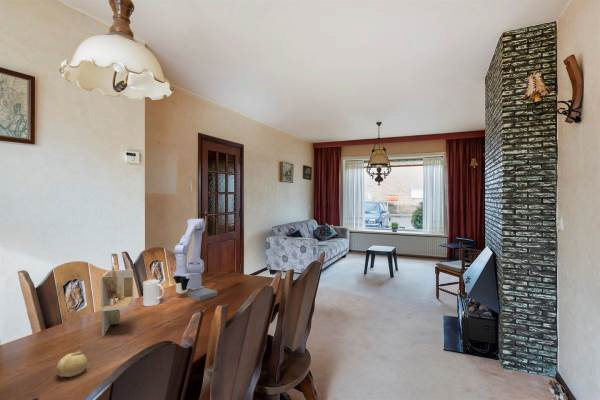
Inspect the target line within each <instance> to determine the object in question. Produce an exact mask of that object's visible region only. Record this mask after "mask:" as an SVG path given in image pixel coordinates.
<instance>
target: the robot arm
mask: <svg viewBox="0 0 600 400" xmlns="http://www.w3.org/2000/svg"><path fill="white" fill-rule="evenodd" d="M186 225H187V229H186V232H185V234H183V235H182V236H181V238H180V240H179V242H178V244H176V245H175V246H174V249H173V253H174V257H175V265H176V266H175V271H173V280H174V283H175V284H176V283H180V282H181V285H182V290H186V288H187V290H191V291H195V290H199V289H203V288H205V286H203V285H202V274H203V273H204V271H205V261H204V260H203V259H201V248H202V240H203V233H204V232H205V231H206V221H205V219H204V217H203V218H188V220H187V223H186ZM193 235H194V236H193ZM192 236H193V243H192V251H191V253H192V254H191V259H189V260H188V259H187V257H188V253H189V249H190V244H191V242H192Z"/></svg>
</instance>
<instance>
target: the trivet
mask: <svg viewBox="0 0 600 400" xmlns="http://www.w3.org/2000/svg"><path fill="white" fill-rule="evenodd" d="M186 293H187V296H188V298H190V297H191V298H190V299H193V300H196V301H203V300H206V299H209V298H213V297H216V296H217V297H218V291H217V290H214V289H211V288H207V287H204V288H200V289H196V290H191V291H187V292H186Z"/></svg>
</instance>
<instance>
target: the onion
mask: <svg viewBox="0 0 600 400" xmlns="http://www.w3.org/2000/svg"><path fill="white" fill-rule="evenodd" d="M80 350H81V349H79V350H77V351H76V352H71V353H67V354H66V355H64V356H63V357H62V358H61V359H60V360H59V361H58V362H57V365H56V368H55V371H56V373H57V375H58V376H59V377H61V378H63V377H64V376H65V377H66V378H73V377H76V376H78V375H80V374H82V373H83V372H84V371H85V369H86V368H87V366H88V357H86V355H85V354H84V353H83V352H82V351H80ZM79 373H80V374H79ZM75 375H76V376H75ZM72 376H73V377H72Z"/></svg>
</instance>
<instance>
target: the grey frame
mask: <svg viewBox="0 0 600 400" xmlns="http://www.w3.org/2000/svg"><path fill="white" fill-rule="evenodd" d="M111 269H112V270H107V271H106V272H105V273H104V274H103V275H102V276H101V277H100V294H101V295H100V297H101V298H100V303H101V304H100V306H101V336H102V337H104V336H105V335H106V333H107V332H106V331H108V330H109V329H110V327H111V326H112V325H121V311H120V310H126V309H129V307H130V305H131V303H132V302H133V300H134V269H133V268H132V269H117V270H116V269H115V267H114V265H112V268H111ZM116 299H117V300H116ZM111 300H112V301H113V302H112V303H113V304H112V303H111Z"/></svg>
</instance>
